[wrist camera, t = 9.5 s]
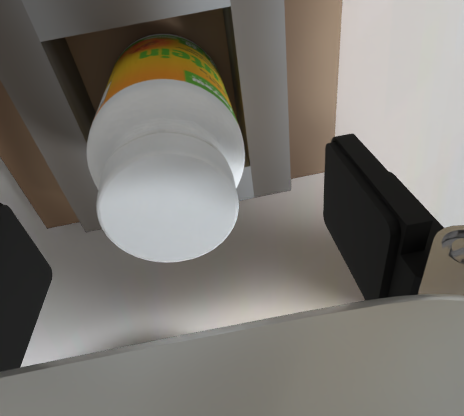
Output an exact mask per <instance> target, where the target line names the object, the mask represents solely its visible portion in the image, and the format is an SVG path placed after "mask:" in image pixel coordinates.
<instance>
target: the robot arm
mask: <svg viewBox="0 0 464 416" xmlns="http://www.w3.org/2000/svg"><path fill="white" fill-rule="evenodd" d="M323 215H324V221H325V224H326V226H327V228H328V230H329V232H330V234H331V236H332V238H333V240H334V241H335V243H336V245H337V247H338V249H339V251H340V253H341V255H342V257H343V258H344V260H345V262H346V264H347V266H348V268H349V270H350V272H351V274H352V275H353V277H354V279H355V281H356V283H357V285H358V287H359V289H360V290H361V292H362V294H363V296H364V298H365V300H366V301H361V302H355V303H349V304H344V305H338V306H332V307H327V308H321V309H315V310H310V311H304V312H299V313H294V314H288V315H283V316H278V317H273V318H268V319H263V320H257V321H252V322H247V323H242V324H237V325H232V326H226V327H221V328H216V329H211V330H206V331H201V332H195V333H190V334H185V335H180V336H175V337H170V338H165V339H160V340H155V341H150V342H145V343H140V344H135V345H130V346H125V347H120V348H115V349H110V350H105V351H100V352H95V353H90V354H85V355H80V356H75V357H70V358H65V359H60V360H55V361H50V362H45V363H41V364H36V365H31V366H26V367H21V368H20V366H21V364H22V361H23V358H24V355H25V352H26V350H27V347H28V344H29V341H30V339H31V336H32V333H33V330H34V327H35V325H36V322H37V319H38V316H39V313H40V311H41V308H42V305H43V302H44V300H45V297H46V294H47V291H48V288H49V286H50V283H51V280H52V270H51V267H50V266H49V264H48V263H47V261H46V260H45V258H44V257H43V255H42V254H41V252H40V251H39V250H38V248H37V247H36V245H35V244H34V242H33V241H32V239H31V238H30V236H29V235H28V234H27V232H26V231H25V229H24V228H23V226H22V225H21V223H20V222H19V220H18V219H17V217H16V216H15V215H14V213H13V212H12V210H11V209H10V208H9V207H8V206H7V205H3V204H1V203H0V416H464V225H458V226H450V227H446V228H443V226H442V225H441V224H440V223H439V222H438V221H437V220H436V219H435V218H434V217H433V216H432V215H431V214H430V213H429V211H428V210H427V209H426V208H425V207H424V206H423V205H422V204H421V203H420V202H419V201H418V200H417V199H416V198H415V196H414V195H413V194H412V193H411V192H410V191H409V190H408V189H407V188H406V187H405V186H404V185H403V184H402V183H401V181H400V180H399V179H398V178H397V177H396V176H395V175H394V174H393V173H391V172H388V171H387V170H386V168H385V167H384V166H383V165H382V164H381V163H380V162H379V161H378V160H377V159H376V158H375V156H374V155H373V154H372V153H371V152H370V151H369V150H368V149H367V148H366V147H365V146H364V145H363V143H362V142H361V141H360V140H359V139H358V138H357V137H356V136H355V135H354V134H347V135H342V136H337V137H333V138H332V140H331V143H327V144H326V147H325V176H324V210H323Z"/></svg>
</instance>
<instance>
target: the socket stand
mask: <svg viewBox="0 0 464 416" xmlns="http://www.w3.org/2000/svg"><path fill="white" fill-rule="evenodd" d="M341 14H342V0H0V157H1V159H2V160H3V162H4V163H5V165H6V166H7V168H8V169H9V171H10V172H11V174H12V175H13V177H14V178H15V180H16V182H17V183H18V185H19V186H20V188H21V189H22V191H23V192H24V194H25V195H26V197H27V198H28V200H29V201H30V203H31V205H32V206H33V208H34V209H35V211H36V212H37V214H38V215H39V217H40V218H41V220H42V221H43V223H44V225H45V226H46V228H52V227H57V226H62V225H67V224H72V223H77V222H80V223H81V225H82V227H83V228H84V230H85V232H90V231H94V230H99V229H102V228H101V225H100V223H99V220H98V216H97V211H96V202H97V195H98V188H97V187H96V185H95V183H94V181H93V178H92V176H91V173H90V170H89V167H88V162H87V141H88V136H89V131H90V128H91V125H92V122H93V120H94V117H95V115H96V113H97V110H98V108H99V105H100V102H101V100H102V97H103V94H104V92H105V89H106V86H107V84H108V81H109V78H110V75H111V73H112V70H113V68H114V65H115V63H116V62H117V60H118V58H119V56H120V55H121V54H122V52H123V51H124V50H125V49H126V48H127V47H128V46H129V45H130V44H132V43H133V42H135V41H137V40H139V39H140V38H143V37H146V36H149V35H154V34H172V35H177V36H181V37H184V38H186V39H188V40H190V41H192V42H194V43H195V44H197V45H198V46H200V47H201V48H202V49H203V50H204V51H205V52H206V53H207V54H208V55H209V56H210V57H211V59H212V60H213V62H214V63H215V65H216V67H217V69H218V71H219V73H220V76H221V78H222V81H223V84H224V87H225V90H226V93H227V96H228V98H229V101H230V103H231V106H232V109H233V111H234V114H235V117H236V119H237V122H238V124H239V127H240V130H241V133H242V137H243V142H244V150H245V162H244V169H243V173H242V177H241V179H240V182H239V184H238V186H237V188H236V190H237V194H238V200H239V201H241V200H246V199H251V198H256V197H261V196H266V195H270V194H275V193H280V192H285V191H290V190H291V179H293V178H298V177H303V176H308V175H313V174H318V173H323V172H325V147H326V144H327V143H331V140H332V138H333V137H335V121H336V103H337V85H338V68H339V50H340V32H341Z"/></svg>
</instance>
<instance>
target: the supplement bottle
mask: <svg viewBox="0 0 464 416" xmlns="http://www.w3.org/2000/svg"><path fill="white" fill-rule="evenodd" d="M87 162H88V167H89V170H90V173H91V176H92V178H93V181H94V183H95V185H96V187H97V188H98V195H97V202H96V211H97V216H98V220H99V223H100V225H101V228H102V229H103V231H104V232H105V234H106V236H107V237H108V238H109V239H110V240H111V241H112V242H113V243H114V244H115V245H116V246H117V247H119V248H120V249H122V250H123V251H125V252H126V253H129V254H131V255H133V256H135V257H138V258H141V259H144V260H148V261H154V262H164V263H167V262H181V261H186V260H190V259H194V258H197V257H199V256H202V255H204V254H206V253H208V252H210V251H211V250H213V249H215V248H216V247H217V246H218V245H219V244H221V243H222V242H223V241H224V240H225V239H226V238H227V236H228V235H229V234H230V232H231V231H232V229H233V228H234V225H235V223H236V220H237V216H238V211H239V200H238V194H237V190H236V188H237V186H238V184H239V182H240V179H241V177H242V173H243V169H244V162H245V150H244V142H243V137H242V133H241V130H240V127H239V124H238V122H237V119H236V117H235V114H234V111H233V109H232V106H231V103H230V101H229V98H228V96H227V93H226V90H225V87H224V84H223V81H222V78H221V76H220V73H219V71H218V69H217V67H216V65H215V63H214V62H213V60H212V59H211V57H210V56H209V55H208V54H207V53H206V52H205V51H204V50H203V49H202V48H201V47H200V46H198V45H197V44H195V43H194V42H192V41H190V40H188V39H186V38H184V37H181V36H177V35H172V34H154V35H149V36H146V37H143V38H140V39H139V40H137V41H135V42H133V43H132V44H130V45H129V46H128V47H127V48H126V49H125V50H124V51H123V52H122V54H121V55H120V56H119V58H118V60H117V62H116V63H115V65H114V68H113V70H112V73H111V75H110V78H109V81H108V84H107V86H106V89H105V92H104V94H103V97H102V100H101V102H100V105H99V108H98V110H97V113H96V115H95V117H94V120H93V122H92V125H91V128H90V131H89V136H88V141H87Z"/></svg>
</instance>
